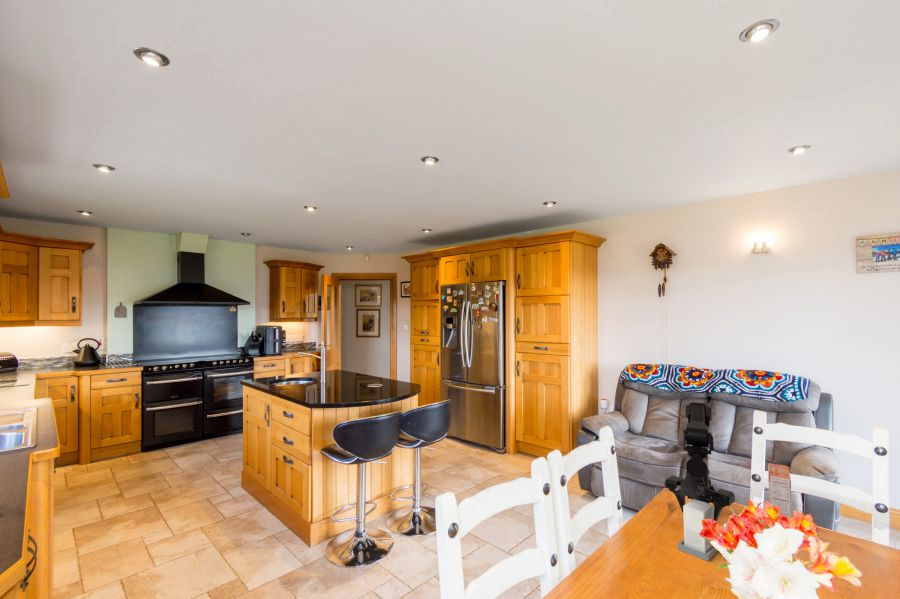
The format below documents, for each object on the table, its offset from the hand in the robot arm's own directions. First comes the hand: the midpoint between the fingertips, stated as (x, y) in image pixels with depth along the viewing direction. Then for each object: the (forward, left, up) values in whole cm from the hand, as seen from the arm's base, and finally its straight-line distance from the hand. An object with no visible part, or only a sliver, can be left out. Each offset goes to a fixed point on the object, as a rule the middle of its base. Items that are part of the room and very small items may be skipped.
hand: (698, 517), depth 135 cm
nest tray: (0, 0, -10) cm, 10 cm away
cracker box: (-32, +14, -10) cm, 36 cm away
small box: (0, 0, -10) cm, 10 cm away
